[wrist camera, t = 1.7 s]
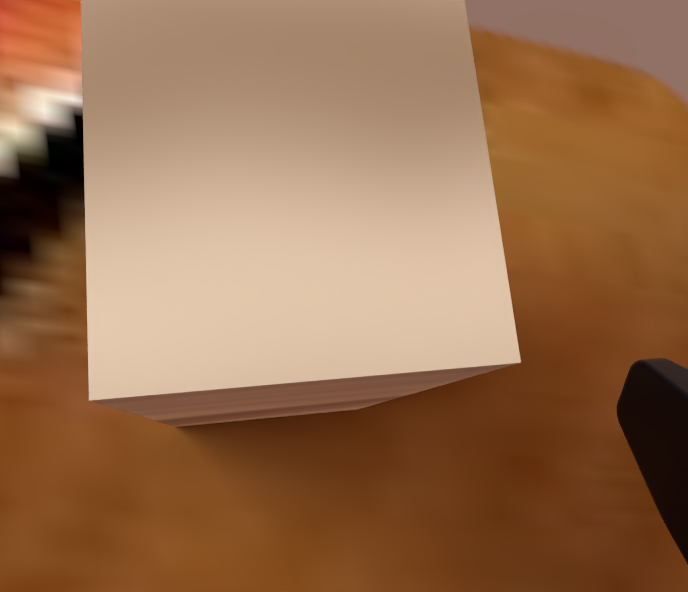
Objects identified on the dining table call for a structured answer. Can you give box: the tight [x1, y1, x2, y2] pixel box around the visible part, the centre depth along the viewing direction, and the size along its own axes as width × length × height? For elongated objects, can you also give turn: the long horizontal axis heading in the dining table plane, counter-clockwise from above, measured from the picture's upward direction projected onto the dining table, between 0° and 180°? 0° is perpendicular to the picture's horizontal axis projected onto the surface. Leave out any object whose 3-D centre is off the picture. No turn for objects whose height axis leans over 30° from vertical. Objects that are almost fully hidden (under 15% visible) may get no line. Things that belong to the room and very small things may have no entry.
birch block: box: [81, 0, 521, 427], centre depth 13 cm, size 5×5×11 cm
